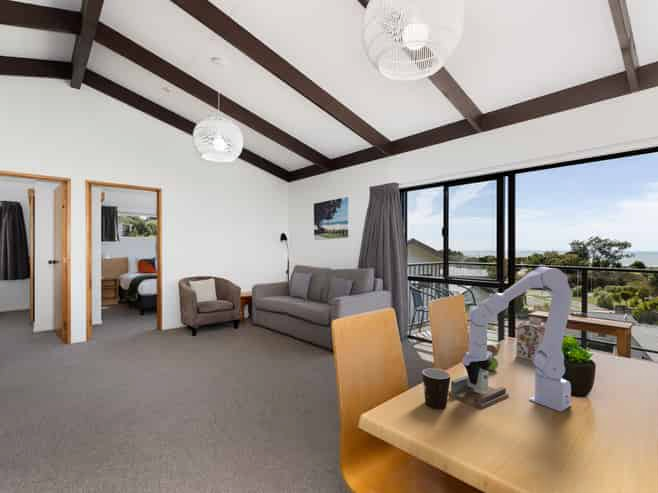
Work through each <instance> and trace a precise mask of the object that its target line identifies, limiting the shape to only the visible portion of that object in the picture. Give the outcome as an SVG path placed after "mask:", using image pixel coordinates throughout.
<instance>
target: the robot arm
mask: <svg viewBox="0 0 658 493" xmlns="http://www.w3.org/2000/svg"><path fill="white" fill-rule="evenodd" d="M568 279H569V277H568V276H567V275H566V274H565V273H564V272H563V271H561V269H559V268H555V267H553V268H552V267H551V268H550V267H547V266H538V267H535V269H534V270H531V271H529V272H528V273H527V274H525V275H524V276H523V277H522V278H520V279H519V280H518V281H516V282H515V283H514V284H512V285H511V286H509V288H506V290H504V291H503V292H501V293H500V292H495V293H490V294H489V295H488V296H489V297H488V298H486V299H485V300H483V301H482V302H477V303H476V304H477V305H475V306H471V307H470V308H469V310H468V312H467V318H468V319H469V323H468V324H469V328H468V351H467V352H465V356H464V357H462V358H461V364H462V365H463V366H464V367H465V370H466V373H467V376H469V381H470V383H472V384H474V385H476V384H477V380H478V373H479V370H480V368H481V369H484V370H487V371H488V372H489V367H490V365H491V364H492V361H490V360H487V359H488V358H492V352H489V351H487V345H488V324H489V323H490V322H491V318H494V317H495V316H497V314H499V313H501V312H503V311H504V310H505V309H507V308H508V307H509V304H510V302H511V301H512V300H513V299H515V298H517V297H519V296H521V295H522V294H523V293H525V292H527V291H528V290H530V289H542V288H543V289H545V291H546V292H547V293H548V294H549V295H550V297H551V300H550V305H549V309H548V310H549V311H548V313H547V321H546V322H545V323H546V328H545V333H544V338H543V342H542V344H540V345H539V346H538V350H537V352H536V353H535V354H534V356H533V361H532V362H533V365H534V366H535V367H536V368H535V371H534V374H535V375H534V395H533V396H531V397H530V398H529V401H531V402H534V403H537V404H539V405H542V406H544V407H547V408H549V409H552V410H555V411H557V412H563V411H564V410H566V409H569V408H570V407H571V406H572V403H571V401H572V400H571V399H572V398H571V397H572V385H571V382H570V381H569V380H567V379H565V378H563V376H564V375H565V373H566V367H565V362H564V360H565V355H564V352H563V350H562V347H563V343H564V338H565V333H566V329H567V324H568V319H569V315H570V311H571V305H572V301H573V292H572V289H571V287H570V284H569V282H568Z"/></svg>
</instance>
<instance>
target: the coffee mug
mask: <svg viewBox="0 0 658 493" xmlns="http://www.w3.org/2000/svg"><path fill="white" fill-rule="evenodd" d="M421 372H422V383H423V392H424V402H425V405H426V407H428V408H430V409H433V410H444V409H446V408H447V405H448V404H447V403H448V398H449V397H448V396H449V391H450V385H451V383H450V382H451V376H452V375H451V373H450V372H448V371H446V370H444V369H440V368H430V367H429V368H425V369H423V370H422V371H421Z"/></svg>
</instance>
